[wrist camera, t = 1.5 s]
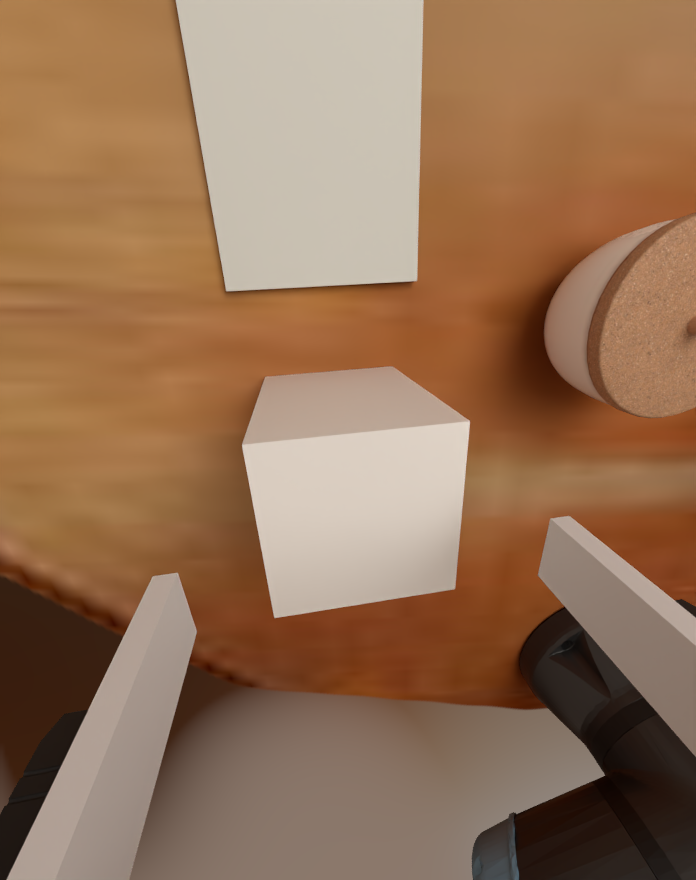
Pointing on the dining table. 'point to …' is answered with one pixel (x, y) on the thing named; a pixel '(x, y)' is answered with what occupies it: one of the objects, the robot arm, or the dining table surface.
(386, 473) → the white block
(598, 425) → the dining table surface
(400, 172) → the mat
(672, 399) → the lidded jar
